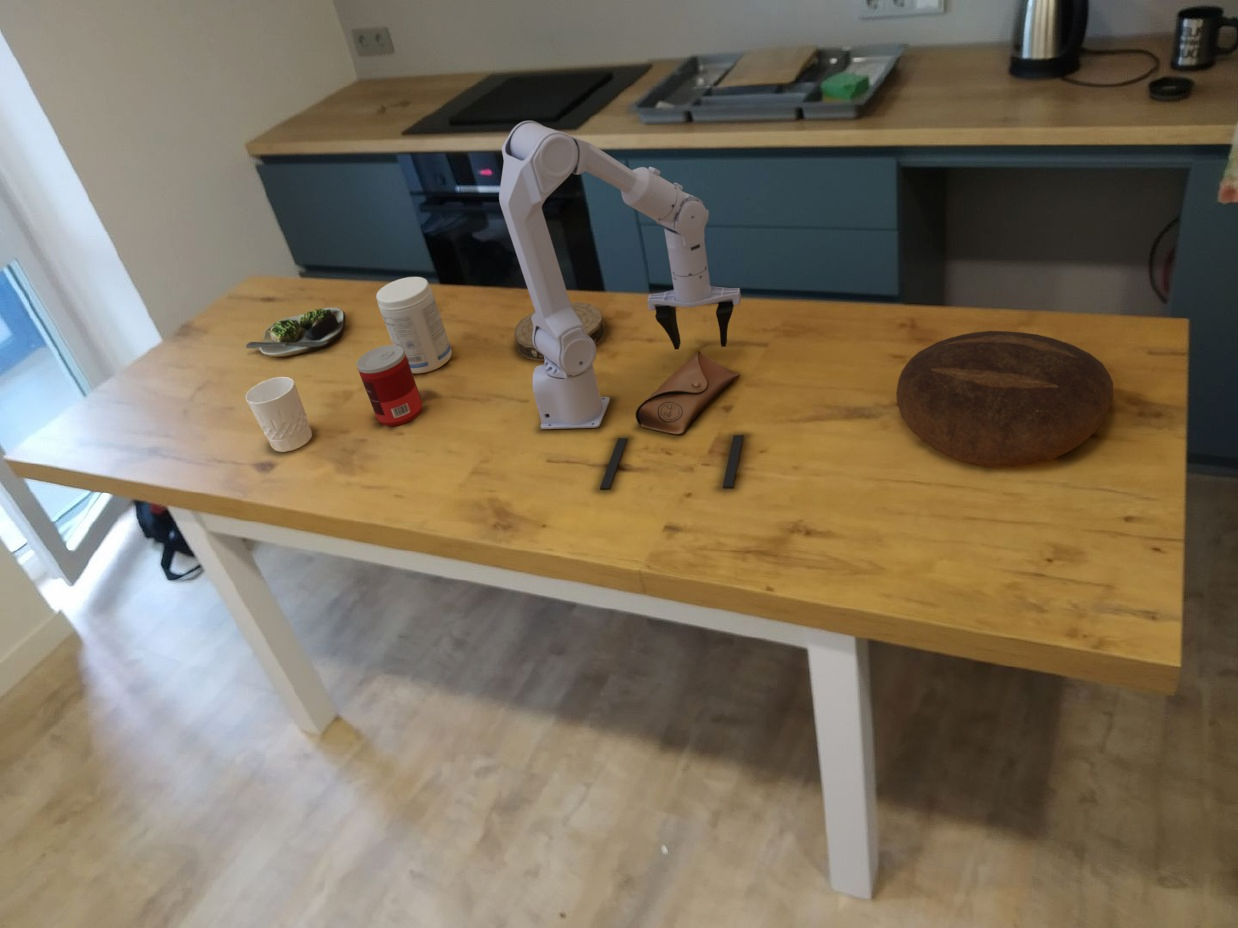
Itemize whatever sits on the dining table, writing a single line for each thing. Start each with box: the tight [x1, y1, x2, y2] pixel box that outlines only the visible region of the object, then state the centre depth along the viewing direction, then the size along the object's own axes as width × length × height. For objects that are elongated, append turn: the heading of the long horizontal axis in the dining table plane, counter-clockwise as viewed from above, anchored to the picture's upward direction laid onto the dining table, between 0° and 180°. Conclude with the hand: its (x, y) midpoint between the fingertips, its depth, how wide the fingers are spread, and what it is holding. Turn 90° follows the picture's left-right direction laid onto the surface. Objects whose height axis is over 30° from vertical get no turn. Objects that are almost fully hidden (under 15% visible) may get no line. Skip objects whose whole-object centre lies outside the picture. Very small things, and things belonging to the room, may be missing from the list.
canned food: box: [356, 344, 423, 427], centre depth 161 cm, size 8×8×11 cm
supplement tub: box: [375, 276, 453, 374], centre depth 174 cm, size 10×10×15 cm
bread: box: [896, 330, 1114, 467], centre depth 133 cm, size 28×27×9 cm
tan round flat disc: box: [513, 301, 606, 362], centre depth 175 cm, size 16×16×3 cm
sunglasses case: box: [635, 350, 741, 436], centre depth 151 cm, size 18×7×7 cm
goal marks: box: [599, 434, 744, 490], centre depth 139 cm, size 19×12×1 cm, turn 78°
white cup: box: [244, 376, 313, 453], centre depth 161 cm, size 8×8×10 cm
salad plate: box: [245, 306, 346, 357], centre depth 194 cm, size 19×18×5 cm
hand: (700, 345), depth 160 cm, fingers open, 7 cm apart
